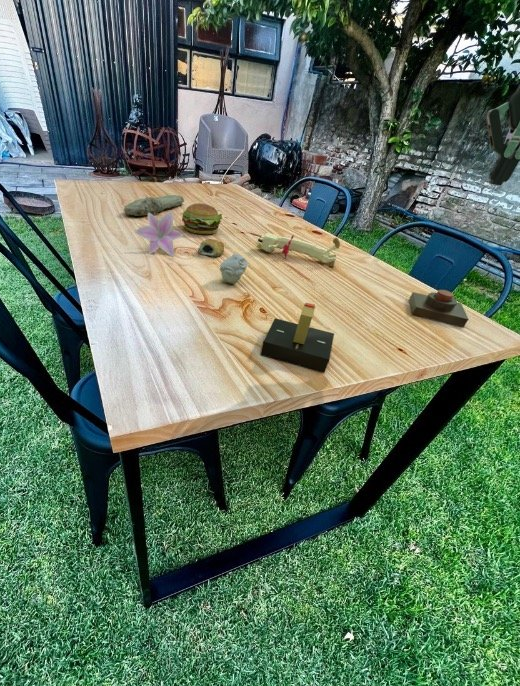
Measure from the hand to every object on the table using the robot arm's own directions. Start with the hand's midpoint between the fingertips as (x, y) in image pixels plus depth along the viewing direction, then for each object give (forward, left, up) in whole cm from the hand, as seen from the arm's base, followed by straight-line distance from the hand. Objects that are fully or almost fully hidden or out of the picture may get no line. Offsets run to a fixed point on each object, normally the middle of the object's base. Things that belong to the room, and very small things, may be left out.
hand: (495, 184), depth 60 cm
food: (+68, -39, -29) cm, 84 cm away
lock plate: (+24, +22, -29) cm, 44 cm away
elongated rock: (+92, -53, -29) cm, 110 cm away
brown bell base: (-6, -14, -29) cm, 33 cm away
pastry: (+57, -20, -29) cm, 67 cm away
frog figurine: (+45, -2, -29) cm, 54 cm away
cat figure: (+34, -33, -29) cm, 56 cm away
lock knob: (+24, +22, -26) cm, 42 cm away
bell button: (-6, -14, -25) cm, 30 cm away
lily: (+70, -12, -29) cm, 77 cm away
